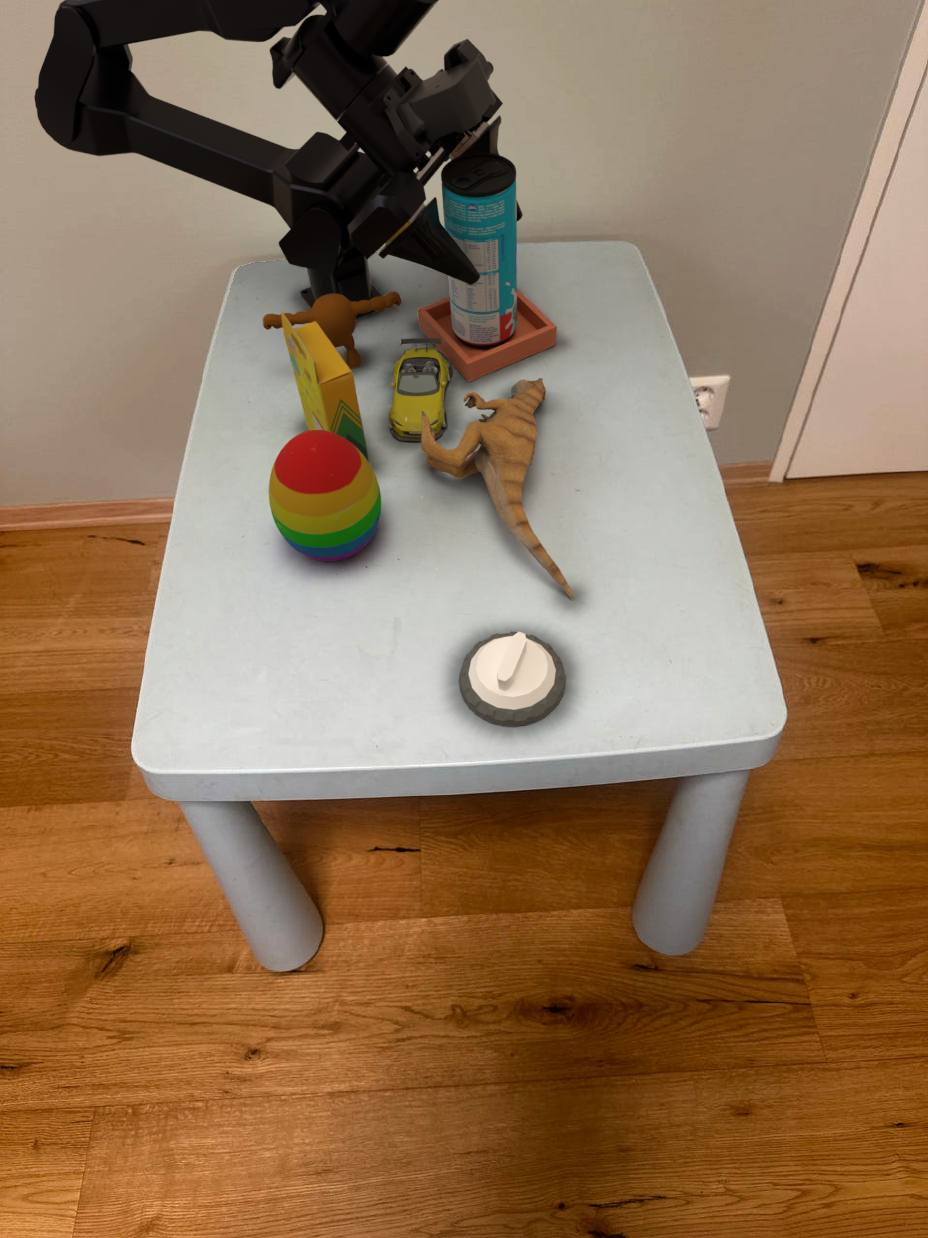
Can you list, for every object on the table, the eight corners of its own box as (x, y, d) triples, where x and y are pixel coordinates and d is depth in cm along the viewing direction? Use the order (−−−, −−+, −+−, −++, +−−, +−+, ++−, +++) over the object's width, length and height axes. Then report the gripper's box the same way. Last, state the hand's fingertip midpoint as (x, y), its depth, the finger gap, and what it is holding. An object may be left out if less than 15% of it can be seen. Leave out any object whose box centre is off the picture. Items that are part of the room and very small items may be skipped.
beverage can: (529, 336, 84) (531, 176, 72) (473, 360, 83) (465, 201, 70) (495, 302, 87) (490, 144, 75) (440, 325, 86) (427, 167, 74)
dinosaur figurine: (437, 391, 81) (573, 394, 80) (411, 596, 69) (573, 602, 68) (433, 327, 76) (579, 330, 75) (404, 537, 63) (580, 543, 62)
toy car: (386, 442, 78) (382, 415, 75) (396, 364, 84) (392, 336, 81) (446, 442, 78) (444, 414, 75) (452, 363, 83) (449, 335, 81)
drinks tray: (419, 327, 87) (417, 308, 85) (503, 293, 89) (503, 274, 87) (468, 382, 82) (467, 364, 80) (556, 344, 84) (557, 326, 82)
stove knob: (442, 707, 63) (440, 684, 60) (481, 624, 67) (479, 599, 64) (546, 739, 61) (547, 717, 59) (579, 652, 65) (581, 628, 63)
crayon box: (372, 467, 76) (350, 352, 67) (338, 480, 76) (312, 366, 66) (337, 413, 80) (312, 297, 71) (305, 426, 80) (276, 310, 70)
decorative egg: (286, 584, 70) (254, 492, 62) (278, 505, 74) (248, 410, 66) (393, 564, 70) (376, 471, 62) (379, 487, 75) (361, 391, 67)
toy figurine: (404, 338, 86) (395, 273, 80) (411, 363, 84) (403, 298, 78) (275, 361, 85) (257, 297, 79) (279, 388, 83) (261, 324, 77)
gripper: (361, 81, 61) (519, 265, 67) (475, -33, 70) (604, 136, 76) (283, 177, 69) (429, 332, 75) (393, 64, 79) (516, 209, 85)
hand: (498, 249), depth 78 cm, fingers open, 9 cm apart
